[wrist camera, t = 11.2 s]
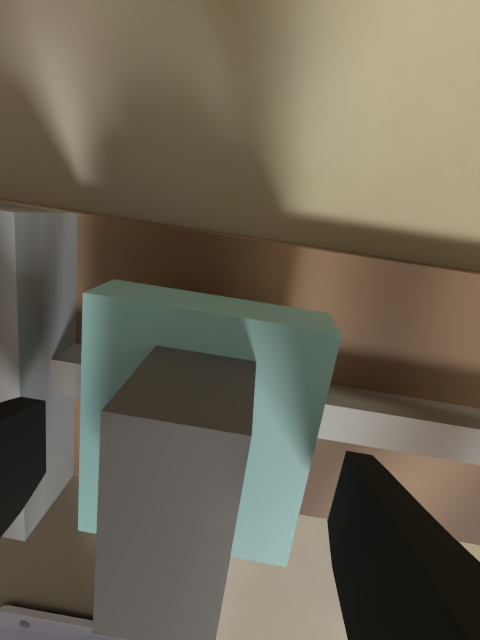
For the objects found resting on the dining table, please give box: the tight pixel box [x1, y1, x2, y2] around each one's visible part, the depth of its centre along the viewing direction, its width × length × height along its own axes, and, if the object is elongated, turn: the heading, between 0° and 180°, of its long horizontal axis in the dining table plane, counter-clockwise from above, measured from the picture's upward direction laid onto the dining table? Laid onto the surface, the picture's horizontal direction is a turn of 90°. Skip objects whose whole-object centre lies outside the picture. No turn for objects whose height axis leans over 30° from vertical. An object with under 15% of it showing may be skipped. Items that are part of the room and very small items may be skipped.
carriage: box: [78, 279, 342, 640], centre depth 9 cm, size 6×7×5 cm
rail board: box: [0, 199, 480, 545], centre depth 12 cm, size 30×10×4 cm, turn 82°
